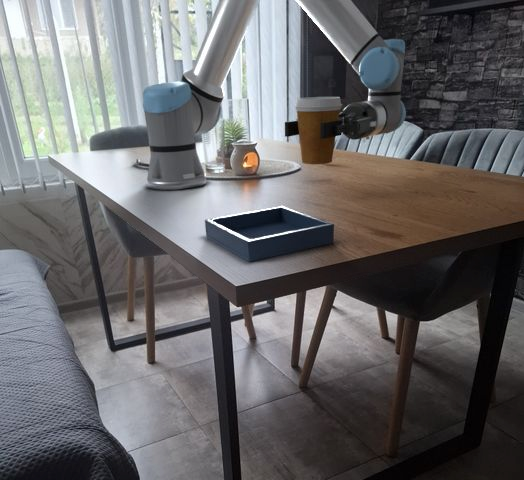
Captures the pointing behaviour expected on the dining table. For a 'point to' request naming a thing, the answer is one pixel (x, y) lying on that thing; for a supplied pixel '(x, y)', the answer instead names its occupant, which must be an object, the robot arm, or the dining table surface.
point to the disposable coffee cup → (316, 127)
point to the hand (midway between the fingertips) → (303, 130)
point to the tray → (268, 232)
